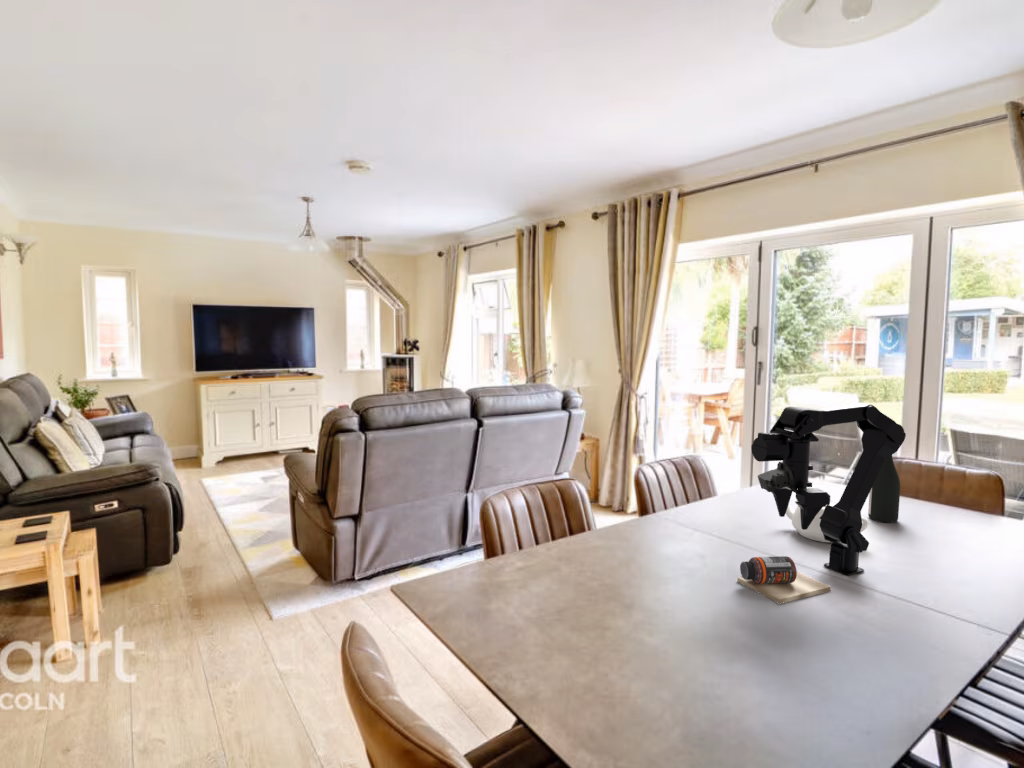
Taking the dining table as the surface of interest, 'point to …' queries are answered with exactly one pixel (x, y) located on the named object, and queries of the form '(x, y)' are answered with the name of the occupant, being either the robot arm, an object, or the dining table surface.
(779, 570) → the supplement bottle
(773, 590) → the board
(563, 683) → the dining table surface
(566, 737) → the dining table surface
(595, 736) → the dining table surface
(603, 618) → the dining table surface
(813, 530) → the teapot
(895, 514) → the wine bottle
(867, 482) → the robot arm
